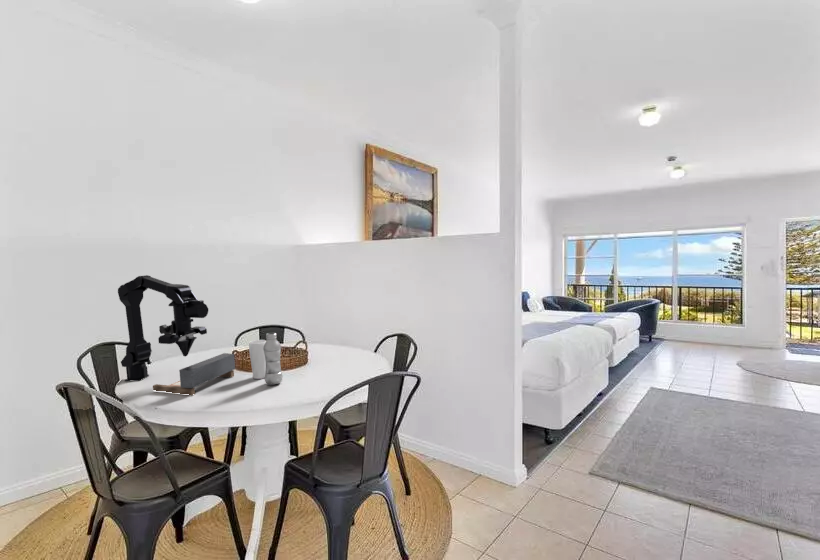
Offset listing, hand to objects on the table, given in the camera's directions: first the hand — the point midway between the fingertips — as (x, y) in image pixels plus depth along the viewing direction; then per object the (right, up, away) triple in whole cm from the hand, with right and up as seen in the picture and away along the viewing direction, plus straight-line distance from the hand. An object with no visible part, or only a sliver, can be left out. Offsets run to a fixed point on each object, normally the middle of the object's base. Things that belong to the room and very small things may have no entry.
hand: (185, 356), depth 165 cm
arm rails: (+4, -11, 0) cm, 12 cm away
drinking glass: (+28, -10, +6) cm, 30 cm away
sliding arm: (+11, -8, -2) cm, 14 cm away
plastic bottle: (+36, -11, -3) cm, 38 cm away
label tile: (0, -11, +1) cm, 11 cm away
